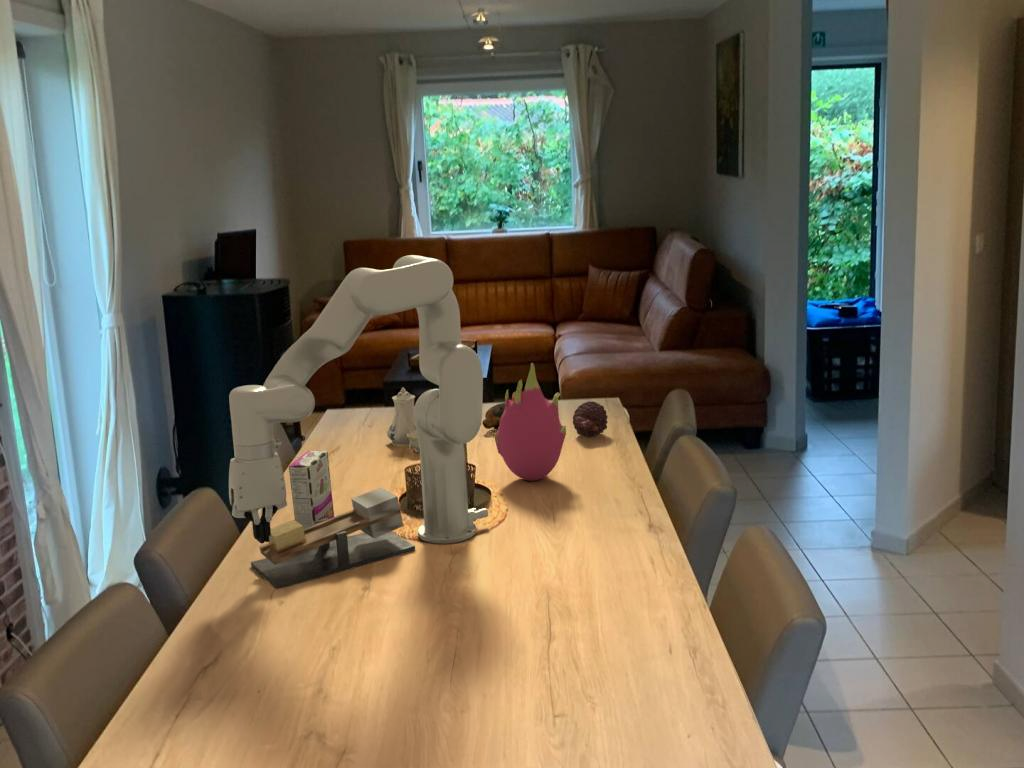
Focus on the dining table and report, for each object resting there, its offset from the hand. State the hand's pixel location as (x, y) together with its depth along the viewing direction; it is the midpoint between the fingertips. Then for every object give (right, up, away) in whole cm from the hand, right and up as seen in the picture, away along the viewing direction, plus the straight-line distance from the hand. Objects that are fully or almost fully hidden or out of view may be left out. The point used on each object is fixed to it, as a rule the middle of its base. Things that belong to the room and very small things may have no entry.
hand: (262, 540), depth 197 cm
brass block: (+4, -2, +3) cm, 6 cm away
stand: (+12, -5, +9) cm, 16 cm away
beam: (+13, -2, +9) cm, 16 cm away
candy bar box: (+5, -2, +27) cm, 28 cm away
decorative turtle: (+47, +17, +101) cm, 112 cm away
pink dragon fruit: (+54, +7, +54) cm, 76 cm away
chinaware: (+22, +14, +91) cm, 94 cm away
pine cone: (+71, +16, +90) cm, 116 cm away
